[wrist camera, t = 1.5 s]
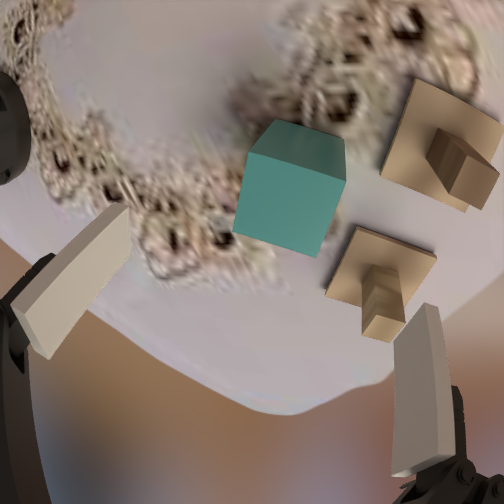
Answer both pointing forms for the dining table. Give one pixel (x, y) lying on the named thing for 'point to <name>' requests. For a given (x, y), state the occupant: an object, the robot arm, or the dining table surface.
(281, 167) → the teal rectangular block
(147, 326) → the dining table surface
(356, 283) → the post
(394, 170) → the post
